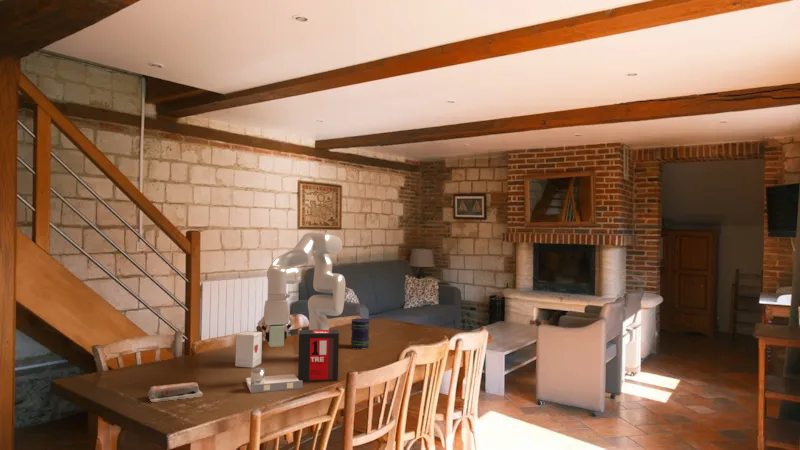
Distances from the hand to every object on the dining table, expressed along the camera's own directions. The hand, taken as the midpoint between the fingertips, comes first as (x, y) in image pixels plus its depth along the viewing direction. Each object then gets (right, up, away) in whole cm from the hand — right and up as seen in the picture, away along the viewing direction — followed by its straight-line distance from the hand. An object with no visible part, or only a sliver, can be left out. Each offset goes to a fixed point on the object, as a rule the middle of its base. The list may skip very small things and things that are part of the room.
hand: (275, 340), depth 221 cm
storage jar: (+30, -19, +69) cm, 77 cm away
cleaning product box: (+16, -18, +7) cm, 25 cm away
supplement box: (-19, -17, +26) cm, 37 cm away
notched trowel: (-33, -17, -21) cm, 43 cm away
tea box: (0, -2, 0) cm, 2 cm away
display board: (0, -17, -4) cm, 18 cm away
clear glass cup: (-5, -15, -11) cm, 19 cm away
